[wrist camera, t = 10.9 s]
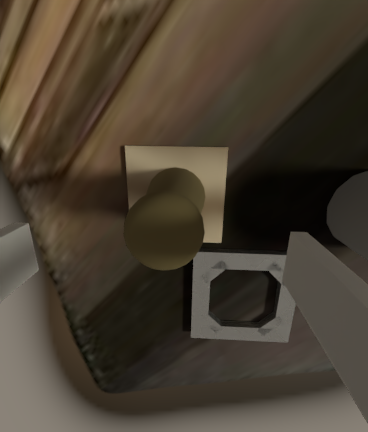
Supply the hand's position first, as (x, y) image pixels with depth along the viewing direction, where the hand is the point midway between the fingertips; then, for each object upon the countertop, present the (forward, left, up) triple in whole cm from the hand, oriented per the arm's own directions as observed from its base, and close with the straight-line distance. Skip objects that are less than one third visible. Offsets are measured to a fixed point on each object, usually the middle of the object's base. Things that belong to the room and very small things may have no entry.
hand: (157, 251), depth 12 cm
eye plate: (+12, +8, -13) cm, 20 cm away
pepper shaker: (0, 0, -13) cm, 13 cm away
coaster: (0, 0, -13) cm, 13 cm away
